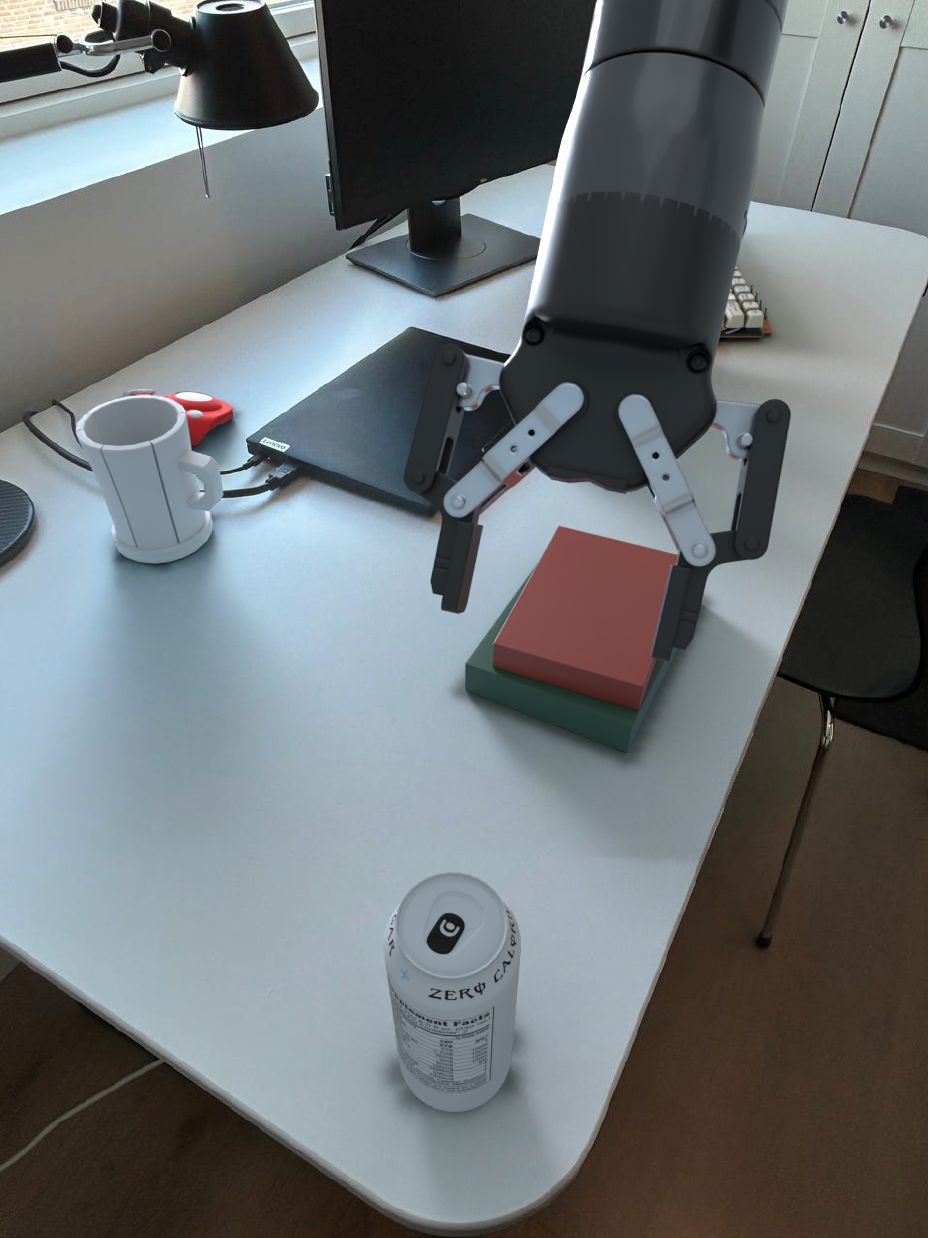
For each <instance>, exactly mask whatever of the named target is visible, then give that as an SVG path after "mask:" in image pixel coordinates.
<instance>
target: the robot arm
mask: <svg viewBox="0 0 928 1238" xmlns="http://www.w3.org/2000/svg"><path fill="white" fill-rule="evenodd" d="M788 4H789V0H596V2H595V7H594V11H593V15H592V20H591V24H590V31H589V36H588V40H587V45H586V49H585V53H584V54H585V55H584V59H583V65H582V69H581V74H580V79H579V84H578V88H577V91H576V97H575V100H574V104H573V106H572V109H571V112H570V115H569V118H568V120H567V123H566V125H565V129H564V132H563V135H562V138H561V142H560V146H559V149H558V154H557V159H556V164H555V169H554V172H553V173H554V174H553V178H552V183H551V189H550V193H549V198H548V202H547V208H546V212H545V217H544V223H543V228H542V232H541V236H540V242H539V247H538V252H537V257H536V261H535V266H534V270H533V271H534V272H533V276H532V281H531V286H530V291H529V296H528V301H527V306H526V311H525V315H524V320H523V325H522V329H521V335H520V338H519V341H518V344H517V345H516V347H515V349H514V351H513V352H512V354H511V355H510V357H508V359H507V360H506V361H505V362H502V361H498V360H493V359H489V358H486V357H481V356H476V355H472V354H468V353H466V352H464V350H463V349H462V348H461V346H459V345H458V344H456V343H455V342H454V343H453V342H446V343H443V344H441V345H440V346H438V348H437V349H436V350H435V353H434V355H433V360H432V363H431V367H430V370H429V374H428V379H427V382H426V386H425V390H424V394H423V398H422V402H421V406H420V409H419V413H418V418H417V422H416V426H415V430H414V435H413V438H412V441H411V445H410V449H409V453H408V457H407V461H406V465H405V469H404V473H403V482H404V485H405V486H406V488H407V489H408V490H409V491H411V492H414V493H416V494H418V496H420V497H422V498H423V499H425V500H427V501H429V502H430V503H432V504H433V505H434V506H435V507H436V508H437V509H438V510H439V512H440V516H441V525H440V530H439V536H438V541H437V545H436V549H435V557H434V561H433V566H432V570H431V575H430V586H431V591H432V594H433V595H438V596H442V597H441V601H440V602H441V603H440V610H441V611H443V612H448V613H452V614H456V615H460V614H462V613H465V611H466V609H467V606H468V602H469V598H470V592H471V588H472V583H473V579H474V572H475V568H476V564H477V559H478V553H479V548H480V544H481V539H482V534H483V530H484V525H483V524H479V521H480V520H479V519H480V516H481V515H482V514H483V513H484V512H485V511H486V510H487V509H489V507H490V506H492V505H493V504H494V503H495V502H496V501H497V500H498V499H499V498H501V497H502V496H503V495H505V493H506V492H508V491H509V490H510V489H512V488H513V487H515V486H516V485H518V484H519V483H520V482H521V481H522V480H523V479H524V478H525V477H526V476H528V475H529V474H530V473H531V472H532V471H534V469H537V470H538V471H539V472H540V473H541V474H543V475H544V476H545V477H548V478H549V479H550V480H551V481H557V482H562V483H565V484H566V483H567V484H577V483H591V484H593V485H595V486H597V487H599V488H601V489H603V490H606V491H608V492H613V493H614V492H615V493H619V494H623V495H626V494H627V493H632V492H637V491H639V490H642V489H644V488H647V490H648V493H649V494H650V497H651V499H652V501H653V503H654V505H655V507H656V510H657V511H658V513H659V515H660V517H661V519H662V521H663V523H664V525H665V527H666V529H667V532H668V533H669V535H670V537H671V541H672V542H673V544H674V546H675V548H676V550H677V555H678V556H677V560H676V564H675V565H670V568H669V572H668V577H667V581H666V585H665V590H664V594H663V598H662V603H661V607H660V612H659V616H658V620H657V625H656V629H655V633H654V638H653V642H652V647H651V652H650V655H651V658H654V659H659V660H663V661H668V662H669V660H670V657H671V653H672V649H673V647H675V648H678V649H679V650H684V651H685V650H686V649H687V648H688V646H689V645H690V644H691V642H692V641H693V639H694V637H695V632H696V629H697V624H698V619H699V615H700V611H701V607H702V603H703V598H704V594H705V589H706V586H707V582H708V577H709V575H710V574H711V572H712V571H713V570H714V569H715V568H716V567H718V566H720V565H723V564H728V563H736V562H743V561H754V560H758V559H760V558H762V557H763V556H764V555H765V554H766V553H767V551H768V547H769V544H770V537H771V532H772V526H773V522H774V517H775V511H776V503H777V498H778V492H779V487H780V481H781V476H782V470H783V464H784V458H785V452H786V447H787V442H788V435H789V429H790V424H791V418H792V412H791V409H790V406H789V405H788V404H787V403H786V402H785V401H783V400H781V399H778V398H771V399H767V400H766V401H764V402H763V403H752V402H743V401H734V400H725V399H717V397H716V394H715V392H714V391H715V390H714V387H713V381H712V377H713V376H712V374H713V367H714V365H715V359H716V354H717V351H718V345H719V342H720V338H721V337H720V333H721V329H722V324H723V320H724V315H725V311H726V307H727V302H728V298H729V293H730V289H731V285H732V280H733V276H734V271H735V267H736V266H737V262H738V256H739V254H740V249H741V244H742V241H743V237H744V236H745V233H746V229H747V226H748V214H749V209H750V205H751V201H752V196H753V192H754V187H755V183H756V177H757V172H758V164H759V153H760V142H761V130H762V124H763V117H764V113H765V112H764V110H765V108H766V105H767V104H766V103H767V99H768V94H769V92H770V91H769V90H770V87H771V81H772V78H773V73H774V70H775V69H774V68H775V65H776V64H775V63H776V59H777V55H778V51H779V47H780V42H781V38H782V34H783V33H782V32H783V29H784V23H785V18H786V16H787V15H786V14H787V9H788ZM496 390H499V393H500V395H501V397H502V399H503V401H504V404H505V406H506V408H507V411H508V413H509V415H510V418H511V420H512V422H513V424H514V427H513V428H512V429H511V430H509V431H508V432H507V433H506V434H505V435H504V436H503V437H502V438H501V439H500V440H499V441H498V442H497V443H495V444H494V445H493V447H491V448H490V449H489V450H488V451H487V452H485V454H484V455H483V456H482V457H481V459H480V461H478V463H477V464H476V465H475V466H474V467H473V468H471V469H470V470H469V472H467V473H466V474H465V475H464V476H463V477H462V478H460V479H459V481H457V480H455V479H454V478H452V477H450V476H449V471H450V468H451V464H452V460H453V457H454V453H455V449H456V444H457V441H458V437H459V434H460V430H461V427H462V422H463V418H464V414H465V412H471V411H475V410H476V409H478V408H479V407H480V406H481V405H482V403H483V401H484V399H485V398H486V396H487V395H488V394H489V393H490V392H491V391H496ZM710 428H714V429H717V430H718V431H719V432H721V434H722V435H723V437H724V448H725V451H726V453H727V455H728V456H729V457H730V458H731V459H733V460H735V461H739V462H740V461H741V462H740V463H741V464H740V469H739V475H738V481H737V487H736V493H735V499H734V503H733V511H732V517H731V522H730V529H729V530H724V531H717V532H710V530H709V529H708V527H707V524H706V523H705V521H704V518H703V516H702V514H701V512H700V510H699V508H698V505H697V503H696V500H695V497H694V495H693V492H692V490H691V488H690V486H689V484H688V481H687V480H686V477H685V475H684V474H683V471H682V469H681V467H680V465H679V463H678V459H679V458H680V457H681V456H682V455H684V453H686V452H687V451H688V450H689V449H690V448H691V447H692V446H693V445H695V444H696V443H697V442H698V441H699V440H700V439H701V438H702V437H703V436H705V434H706V433H707V432H708V431H709V429H710Z"/></svg>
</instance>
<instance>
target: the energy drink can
mask: <svg viewBox="0 0 928 1238" xmlns="http://www.w3.org/2000/svg"><path fill="white" fill-rule="evenodd" d="M521 954H522V937H521V933H520V928H519V924H518V921H517V920H516V917H515V915H514V913H513V911H512V910H511V908H510V907H509V906H508V905H507V903H506V902H505V901H504V900H503V899H502V898H501V896H500V895H499V893H498V891H496V889H494V888H493V887H492V886H491V885H490V884H489V883H487V882H486V881H484V880H482V879H481V878H479V877H476V876H474V875H472V874H469V873H463V872H459V871H446V872H440V873H435V874H433V875H430V876H428V877H426V878H423V879H422V880H421V881H419V882H417V883H416V884H415V885H414V886H412V887H411V888H410V889H409V891H407V893H406V894H405V895H404V897H403V898H402V900H401V902H400V903H399V904H398V905H397V907H395V909H394V910H393V911H392V914H391V915H390V917H389V920H388V921H387V925H386V927H385V930H384V936H383V956H384V957H383V958H384V962H385V963H384V964H385V971H386V978H387V986H388V993H389V999H390V1006H391V1015H392V1020H393V1027H394V1033H395V1041H396V1042H395V1043H396V1048H397V1055H398V1061H399V1062H398V1063H399V1068H400V1071H401V1075H402V1078H403V1079H404V1081H405V1083H406V1084H407V1086H408V1087H407V1088H409V1090H410V1091H411V1092H412V1093H413V1095H414V1096H415V1097H416V1098H418V1099H419V1100H420V1101H421V1102H422V1103H424V1104H425V1105H427V1106H429V1107H432V1108H433V1109H435V1110H439V1111H444V1112H447V1113H461V1112H466V1111H472V1110H474V1109H475V1108H478V1107H480V1106H482V1105H484V1104H485V1103H487V1102H488V1101H489V1100H491V1099H492V1098H494V1096H495V1095H496V1094H497V1093H498V1092H499V1091H500V1089H501V1087H502V1086H503V1084H504V1083H505V1081H506V1079H507V1076H508V1074H509V1071H510V1067H511V1062H512V1055H513V1054H512V1053H513V1045H514V1032H515V1020H516V1009H517V998H518V988H519V987H518V986H519V976H520V967H521V966H520V964H521Z"/></svg>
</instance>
